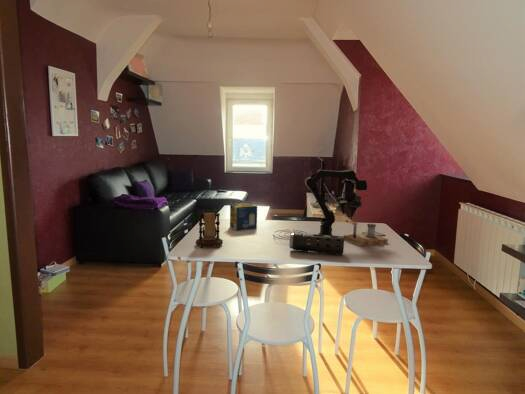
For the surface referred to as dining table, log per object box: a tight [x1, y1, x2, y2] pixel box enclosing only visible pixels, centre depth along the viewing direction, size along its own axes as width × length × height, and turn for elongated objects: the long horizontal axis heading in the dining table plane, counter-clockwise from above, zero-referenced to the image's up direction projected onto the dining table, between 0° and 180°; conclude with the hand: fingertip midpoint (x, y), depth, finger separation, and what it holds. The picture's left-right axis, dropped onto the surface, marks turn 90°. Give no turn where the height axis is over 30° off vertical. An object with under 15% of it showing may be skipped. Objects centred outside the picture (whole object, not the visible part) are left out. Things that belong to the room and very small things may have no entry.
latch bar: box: [342, 215, 358, 238], centre depth 229 cm, size 19×2×9 cm, turn 7°
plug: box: [366, 223, 377, 238], centre depth 226 cm, size 5×5×10 cm
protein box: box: [229, 202, 258, 231], centre depth 249 cm, size 10×15×16 cm
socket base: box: [343, 232, 389, 247], centre depth 225 cm, size 20×16×2 cm
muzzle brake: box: [289, 231, 345, 256], centre depth 199 cm, size 10×28×10 cm, turn 78°
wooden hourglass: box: [195, 209, 224, 249], centre depth 207 cm, size 15×15×20 cm
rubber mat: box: [361, 230, 386, 237], centre depth 242 cm, size 10×10×1 cm
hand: (347, 215), depth 236 cm, fingers open, 9 cm apart
